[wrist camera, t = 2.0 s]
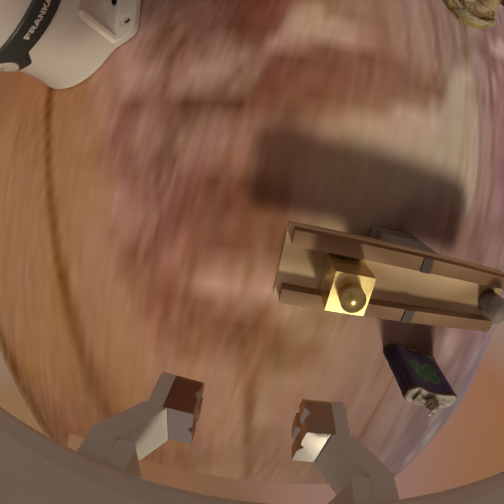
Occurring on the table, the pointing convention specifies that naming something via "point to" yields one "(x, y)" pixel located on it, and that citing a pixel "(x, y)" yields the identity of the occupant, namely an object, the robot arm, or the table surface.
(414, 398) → the flask
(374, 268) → the beam
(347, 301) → the rider
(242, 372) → the table surface
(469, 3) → the ceramic model
